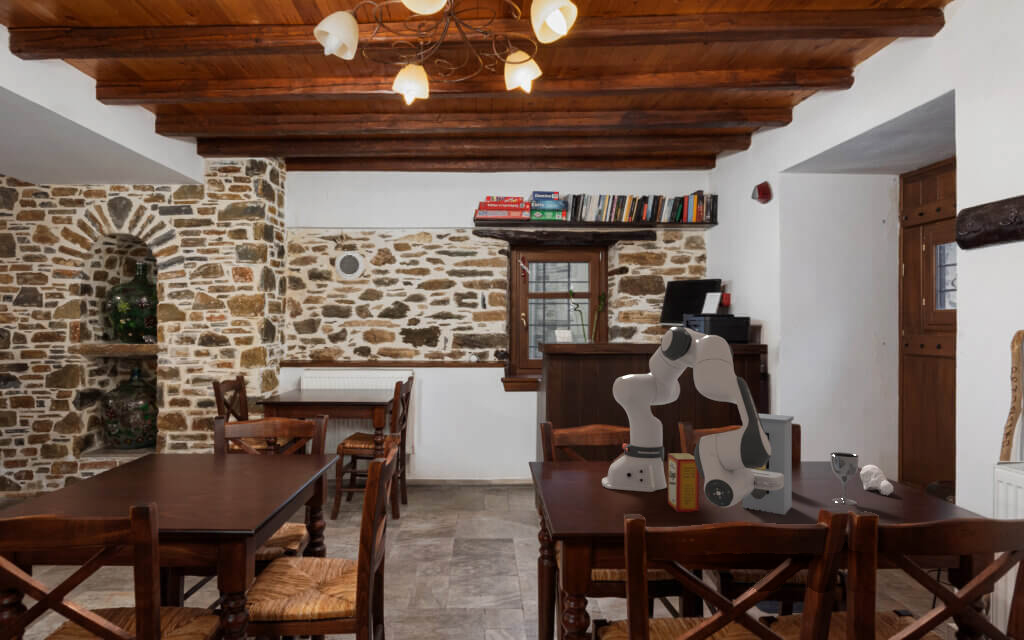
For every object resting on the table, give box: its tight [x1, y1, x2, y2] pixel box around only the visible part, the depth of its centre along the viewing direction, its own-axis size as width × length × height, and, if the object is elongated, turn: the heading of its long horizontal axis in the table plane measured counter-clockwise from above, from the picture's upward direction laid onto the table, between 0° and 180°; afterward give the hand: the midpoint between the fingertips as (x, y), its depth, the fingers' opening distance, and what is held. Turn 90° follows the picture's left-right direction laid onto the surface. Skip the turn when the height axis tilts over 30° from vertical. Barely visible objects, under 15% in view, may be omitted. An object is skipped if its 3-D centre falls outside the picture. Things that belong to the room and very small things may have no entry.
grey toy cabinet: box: [740, 413, 795, 516], centre depth 192 cm, size 11×13×28 cm
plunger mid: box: [751, 460, 769, 471], centre depth 186 cm, size 10×4×4 cm, turn 145°
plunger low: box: [751, 488, 767, 499], centre depth 186 cm, size 10×4×4 cm, turn 145°
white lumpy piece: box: [859, 464, 894, 497], centre depth 211 cm, size 6×8×12 cm
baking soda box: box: [667, 452, 700, 513], centre depth 191 cm, size 10×6×16 cm
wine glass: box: [830, 451, 860, 506], centre depth 199 cm, size 8×8×15 cm
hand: (750, 471), depth 177 cm, fingers closed
